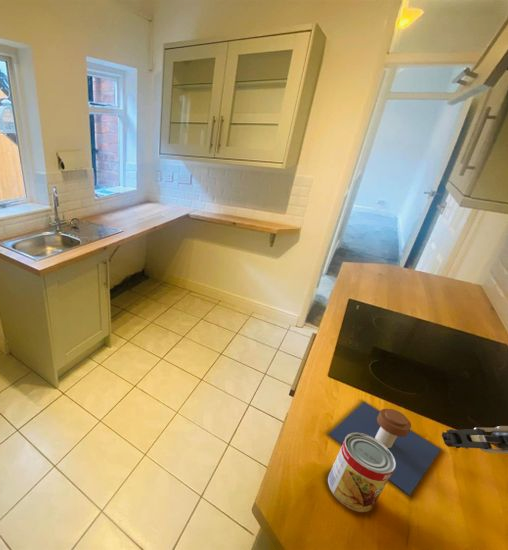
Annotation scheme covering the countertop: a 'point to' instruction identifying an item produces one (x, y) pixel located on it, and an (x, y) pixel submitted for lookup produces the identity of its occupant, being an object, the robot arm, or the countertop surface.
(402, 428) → the mushroom
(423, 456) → the napkin
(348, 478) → the canned food
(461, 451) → the countertop surface
